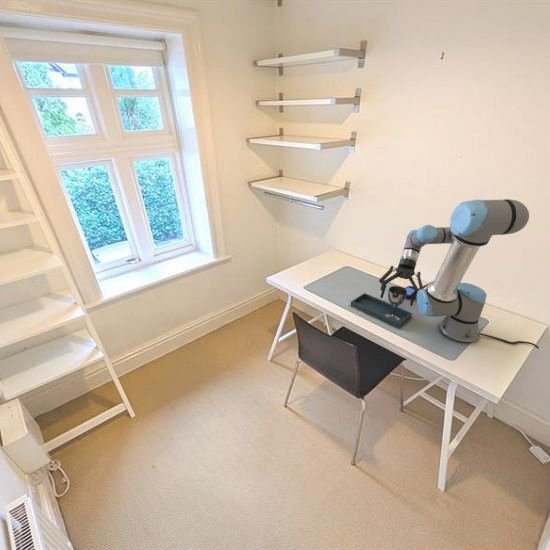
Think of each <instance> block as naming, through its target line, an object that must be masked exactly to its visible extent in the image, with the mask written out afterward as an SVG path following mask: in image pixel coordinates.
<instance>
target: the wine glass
mask: <svg viewBox="0 0 550 550" xmlns="http://www.w3.org/2000/svg"><path fill="white" fill-rule="evenodd" d="M404 288H405V287H402V286H397V285H393V286H390V287H389V288H388V292H387V298H388V301H389V304H392V305H393V313H387V314H386V315H385V316H386V317H388V318H390V319H393V320H395V321H399V320H400V319H401V318H400V316H399V315H398V314H396V313H395V309H396V307H399V306H401V305H402V304H403V303H404V302H405V300H406V299H407V298H406V294H407V290H406V289H404Z"/></svg>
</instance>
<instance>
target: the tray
mask: <svg viewBox="0 0 550 550" xmlns="http://www.w3.org/2000/svg"><path fill="white" fill-rule="evenodd" d="M350 307H352V308H354V309H356V310H358V311H360V312H363V313H365V314H366V315H369V316H370V317H373V318H375V319H377V320H379V321H381V322H383V323H385V324H388V325H390V326H391V327H394V328H396V329H400V328H401V327H403V326H404V325H405V324H406V323H407V322H409V320H411V319H412V316H413V313H412V312H410V311H408V310H406V309H403V308H401V307H399V306H397V307H396V309H395V313H396V314H398V315H399V316H400V318H401V319H400V320H399V321H395V320H393V319H390V318H388V317H386V316H385V315H386V314H387V313H393V305H392V304H391V303H390V302H387V301H385V300H382V299H381V298H378V297H375V296H373V295H370V294H369V293H365V292H364V293H362V294H360V295H359V296H357V297H356V298H354V299H352V300H351V301H350Z"/></svg>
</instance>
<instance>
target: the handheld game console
mask: <svg viewBox="0 0 550 550" xmlns="http://www.w3.org/2000/svg"><path fill="white" fill-rule="evenodd" d="M429 283H430V282H428V283H426V284H425V285H422V286H423V289H426V288H427V286H428V284H429ZM403 288H404V289H406V290H407V294H406V298H405V299H407V300H409V299H412V297H413V294H414V291H415V289H414V287H413V286H412V285H408V286H406V287H403ZM418 289H419V290H420V287H418Z"/></svg>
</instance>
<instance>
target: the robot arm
mask: <svg viewBox="0 0 550 550" xmlns="http://www.w3.org/2000/svg"><path fill="white" fill-rule="evenodd" d="M529 219H530V211H529V209H528V207H527V206H526V205H525V204H524V203H522V202H521V201H519V200H516V199H510V198H507V199H505V198H504V199H473V200H465V201H462V202H461V203H459V204H458V205H456V206H455V208H454V209H453V211H452V213H451V215H450V220H449V221H450V222H449V226H444V227H443V226H441V227H439V226H438V227H436V226H435V225H431V224H425V225H423V226H421V227H419V228H418V229H411V230H410V231H409V232H408V234H407V236H406V240H405V243H404V246H403V250H402V252H401V256H400V259H399V262H398V266H397V267H395V266H394V265H391V266H390V267H389V269H388V270H387V271H386V272H385V273H384V274H383V275H382V276H381V277H380V278H379V279H378V282H379V283H380V284H381V285H380V291H381V293H380V296H379V297H380V299H383V298H384V295H385V292H386V290H387V289H386V288H387V285H388V284H389V283H391V282H392V281H394V280H395V279H398V278H399V279H404V280H409V283H410V284H411V286H412V287H414V289H415V291H414V294H413V297H411V301H410V305H409V306H410V307H413V304H414V301H415V300H416V304H417V309H418V311H419V313H421V315H423V316H424V317H431V318H434V317H443V319H442V321H441V322H440V325H439V330H440V332H441V334H443V335H444V336H445V337H446V338H448V339H450V340H452V341H455V342H458V343H463V344H464V343H465V344H471V343H474V342H476V341H477V340H478V339H479V336H483V337H487V338H492V339H495V340H499V341H502V342H504V343H506V344H511V345H515V344H527V345H531V346H533V347H535V348H536V349H540V347H539V346H538V345H537V344H535V343H533V342H529V341H522V340H516V341H509V340H506V339H503V338H500V337H496V336H492V335H489V334H485V333H483V332H482V333H481V332H480V328H479V320H480V317H481V315H482V312H483V309H484V307H485V304H486V300H487V297H488V296H487V293H486V291H485V290H484V289H483V288H481V287H479V286H477V285H475V284H473V283H468V282H462V280H463V278H464V276H465V275H466V273H467V271H468V269H469V268H470V265H471V264H472V262H473V261H474V259H475V257H476V255H477V254H478V251H479V249H480V248H481V247H485V246H487V245H488V243H489V242H490V240H491V238H492V237H493V236H503V235H511V234H515V233H518V232H520V231H522V230H523V229H524V228H525V227H526V226H527V224H528V222H529ZM441 244H442V245H443V244H450V246H449V249H448V250H447V253H446V254H445V257H444V259H443V261H442V263H441V265H440V267H439V270H438V272H437V274H436V276H435V278H434V280H432V281H429V282H428V283H429V284H428V283H427V284H428V286H426V287H425V288H424V289H423V286H424V285H423V282H422V278H421V275H422V274H421V271H415V270H416V267H417V262H418V260H419V256H420V253H421V250H422V247H425V246H426V245H441ZM393 272H395V273H394V274H392V273H393ZM390 275H391V276H390ZM413 276H415V278H417V279H416V280H417V283H418V286H419V287H418V286H417V284H416V283H415V281H414V279H413ZM419 288H420V290H419Z"/></svg>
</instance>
